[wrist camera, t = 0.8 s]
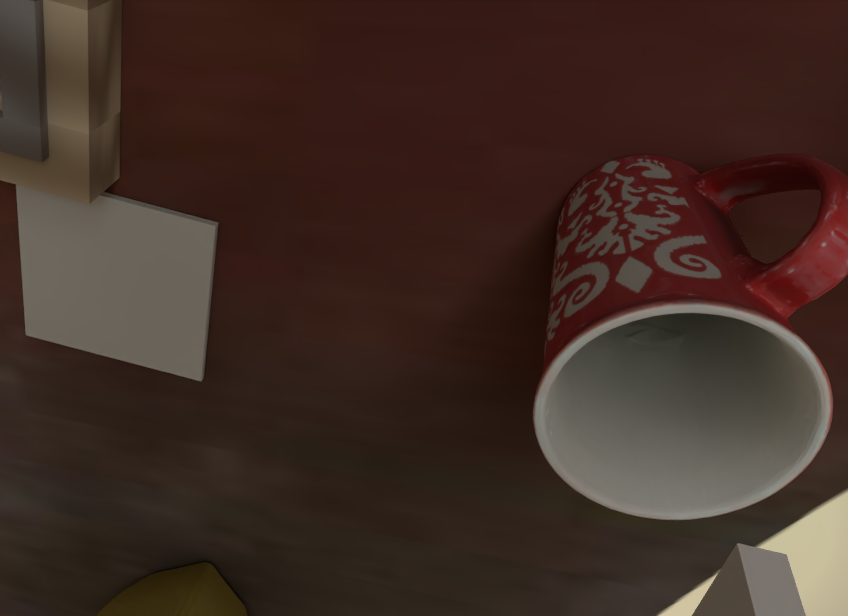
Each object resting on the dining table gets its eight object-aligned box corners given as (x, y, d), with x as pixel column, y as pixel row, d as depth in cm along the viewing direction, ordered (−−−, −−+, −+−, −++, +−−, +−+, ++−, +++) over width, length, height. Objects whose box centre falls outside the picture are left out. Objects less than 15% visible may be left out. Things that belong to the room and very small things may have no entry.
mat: (19, 169, 38) (15, 172, 38) (218, 222, 39) (215, 226, 38) (29, 331, 44) (25, 335, 44) (203, 377, 44) (201, 381, 44)
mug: (635, 344, 39) (672, 561, 28) (496, 238, 37) (476, 426, 26) (856, 163, 33) (1017, 347, 22) (704, 22, 31) (797, 146, 20)
